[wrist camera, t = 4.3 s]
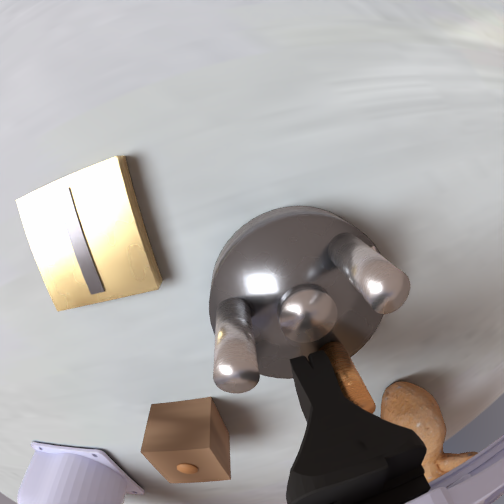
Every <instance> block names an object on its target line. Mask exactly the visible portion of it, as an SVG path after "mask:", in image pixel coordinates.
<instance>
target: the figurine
mask: <svg viewBox="0 0 504 504" xmlns="http://www.w3.org/2000/svg"><path fill="white" fill-rule="evenodd" d="M381 418H382V419H384V420H386V421H389V422H391V423H394V424H397V425H399V426H402V427H406V428H409V429H412V430H413V431H414V432H415V433H416V434H417V435H418V436H419V437H420V438H421V440H422V441H423V442H424V444H425V446H426V448H427V452H426V455H425V457H424V460H423V462H422V464H421V465H422V466H423V468H424V470H425V473H424V476H425V478H426V479H427V481H428V483H429V482H431V481H433V480H435V479H437V478H438V477H440V476H442V475H444V474H446V473H447V472H449V471H451V470H452V469H454V468H456V467H457V466H459V465H461V464H462V463H464V462H465V461H467V460H469V459H470V458H472V457H473V456H475V455H476V454H478V453H477V452H466V453H461V454H451V453H444V452H443V443H444V439H445V435H446V426H445V423H444V420H443V417H442V414H441V411H440V408H439V406H438V404H437V402H436V400H435V398H434V397H433V396H432V395H431V394H430V393H428V392H427V391H426V390H425V389H423V388H421V387H419V386H417V385H415V384H412V383H409V382H402V381H400V382H395V383H393V384H391V385H390V386H389V387H388V388H386V390H385V392H384V394H383V397H382V403H381Z"/></svg>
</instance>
